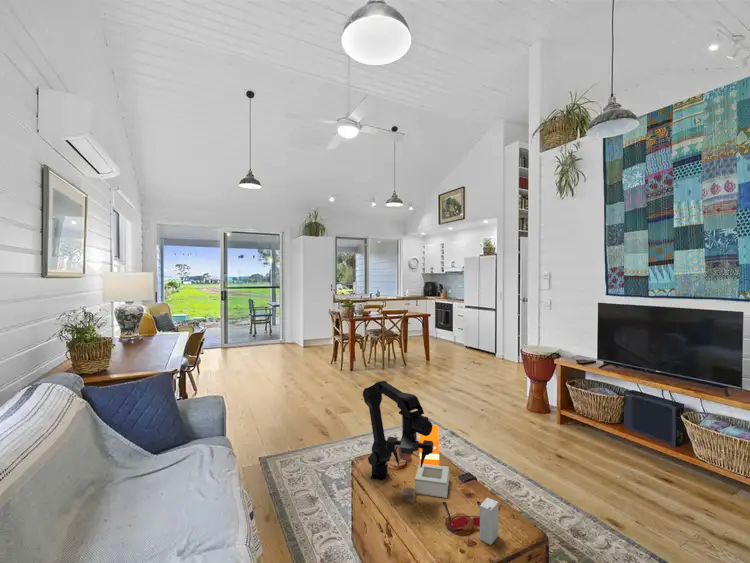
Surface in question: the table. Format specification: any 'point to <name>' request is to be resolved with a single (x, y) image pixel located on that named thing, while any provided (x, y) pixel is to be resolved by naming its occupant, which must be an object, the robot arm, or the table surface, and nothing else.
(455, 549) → the table surface
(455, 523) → the glasses
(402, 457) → the ornate red flask
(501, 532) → the table surface
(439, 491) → the slot box
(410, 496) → the brown square block
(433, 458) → the orange juice
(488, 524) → the skincare box
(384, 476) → the robot arm
